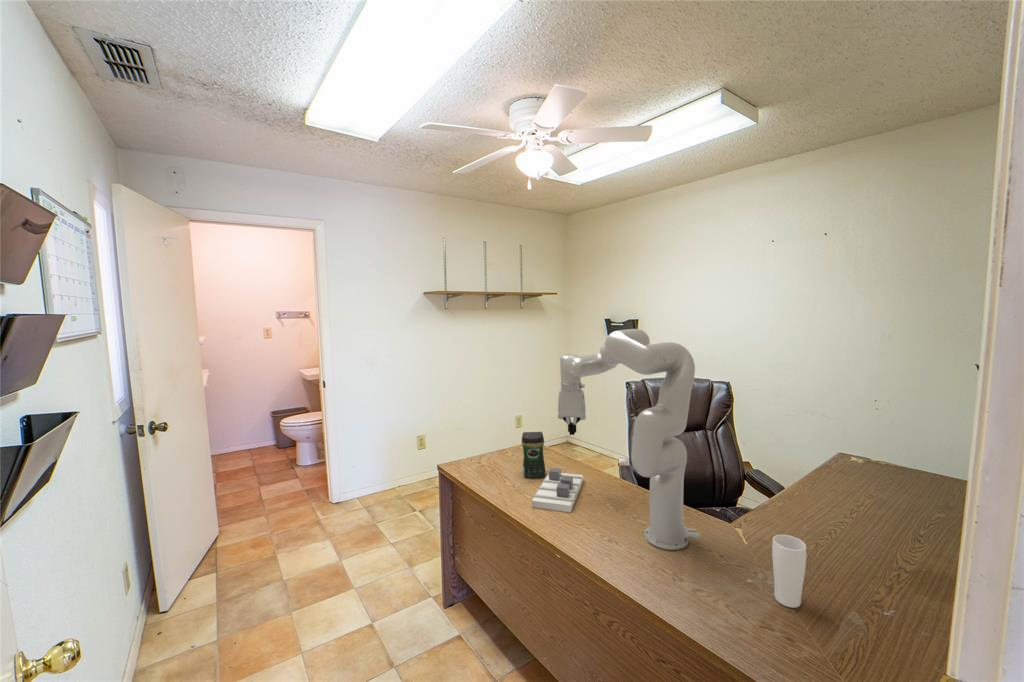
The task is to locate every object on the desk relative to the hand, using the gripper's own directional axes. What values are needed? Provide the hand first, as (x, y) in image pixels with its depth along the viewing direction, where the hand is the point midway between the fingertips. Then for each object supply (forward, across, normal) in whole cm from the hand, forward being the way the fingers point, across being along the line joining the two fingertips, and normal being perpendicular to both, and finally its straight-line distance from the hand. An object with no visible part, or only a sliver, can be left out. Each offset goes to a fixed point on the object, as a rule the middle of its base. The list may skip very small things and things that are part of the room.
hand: (572, 433), depth 163 cm
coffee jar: (+22, +18, -9) cm, 30 cm away
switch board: (+22, +5, +5) cm, 23 cm away
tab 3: (+19, +2, +12) cm, 23 cm away
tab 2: (+19, +2, +5) cm, 20 cm away
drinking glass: (+23, -59, +48) cm, 79 cm away
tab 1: (+19, +8, -1) cm, 21 cm away
